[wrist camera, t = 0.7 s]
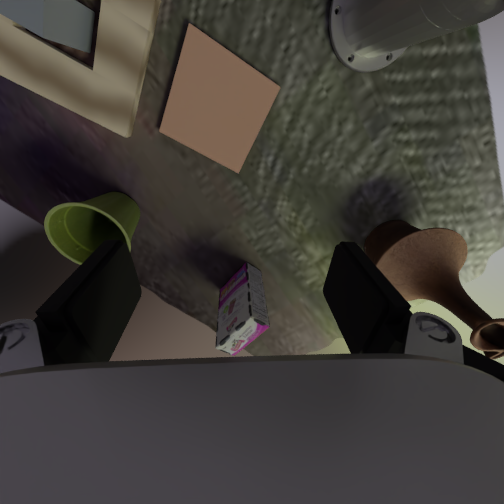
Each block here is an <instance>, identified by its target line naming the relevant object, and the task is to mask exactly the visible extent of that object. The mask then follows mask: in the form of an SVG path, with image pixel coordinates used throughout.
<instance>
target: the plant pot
mask: <svg viewBox="0 0 504 504" xmlns="http://www.w3.org/2000/svg"><path fill="white" fill-rule="evenodd" d="M139 218H140V210H139V207H138V205H137V204H136V202H135V201H134V200H132V199H131V198H129V197H128V196H127V195H125V194H123V193H119V192H109V193H106V194H103V195H100V196H98V197H95V198H92V199H89V200H87V201H84V202H77V203H76V202H70V203H63V204H60V205H57V206H55V207H54V208H52V209H51V210H50V211H49V212H48V213H47V215H46V218H45V221H44V227H45V231H46V235H47V236H48V239H49V240H50V242H51V243H52V245H53V246H54V247H55V248H56V249H57V250H58V251H59V252H60V253H61V254H62V255H64V256H65V257H67V258H68V259H70V260H71V261H73V262H75V263H77V264H80V265H81V264H82V263H83V262H84V261H85V260H86V259H87V258H88V257H89V256H90V255H91V254H92V253H93V252H94V251H95V250H96V249H97V248H98V247H99V246H100V245H101V244H102V243H103V242H104V241H105V240H122V241H123V243H126V244H127V245H128V247H129V251H130V250H131V244H130V243H131V238H132V235H133V233H134V231H135V228H136V226H137V223H138V221H139Z"/></svg>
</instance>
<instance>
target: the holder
mask: <svg viewBox="0 0 504 504" xmlns="http://www.w3.org/2000/svg"><path fill="white" fill-rule="evenodd" d="M160 3H161V0H101V7H100V16H99V24H98V32H97V41H96V49H95V57H94V66H93V68H92V67H90V66H88V65H86V64H85V63H83V62H81V61H79V60H78V59H76V58H74V57H72V56H71V55H69V54H67V53H65V52H63V51H62V50H60V49H58V48H56V47H55V46H53V45H51V44H49V43H48V42H46V41H44V40H42V39H40V38H39V37H37V36H35V35H33V34H32V33H30V32H28V31H26V30H25V27H23V26H21V25H19V24H18V23H16V22H14V21H12V20H11V19H9V18H7V17H5V16H3V15H2V14H0V75H1V76H3V77H5V78H7V79H9V80H11V81H13V82H15V83H17V84H19V85H21V86H23V87H25V88H27V89H29V90H31V91H33V92H35V93H37V94H39V95H41V96H43V97H45V98H47V99H49V100H51V101H53V102H55V103H57V104H59V105H61V106H63V107H65V108H67V109H69V110H71V111H73V112H75V113H77V114H79V115H81V116H83V117H85V118H88V119H90V120H92V121H94V122H96V123H98V124H100V125H102V126H104V127H106V128H108V129H110V130H112V131H114V132H116V133H118V134H120V135H122V136H124V137H126V138H127V137H130V136H131V135H132V131H133V126H134V121H135V117H136V112H137V108H138V103H139V99H140V94H141V90H142V85H143V80H144V76H145V71H146V67H147V62H148V58H149V53H150V49H151V44H152V39H153V35H154V30H155V26H156V21H157V17H158V12H159V7H160Z"/></svg>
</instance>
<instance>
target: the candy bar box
mask: <svg viewBox="0 0 504 504" xmlns="http://www.w3.org/2000/svg"><path fill="white" fill-rule="evenodd" d="M269 327H270V325H269V318H268V312H267V306H266V300H265V294H264V287H263V281H262V275H261V271H260V270H258V269H257V268H255V267H253V266H252V265H250V264H249V263H247V262H246V263H245V264H244V265H243V266H242V267H241V268H240V269H239V270H238V271H237V272H236V273H235V274H234V276H233V277H232V278H231V279H230V280H229V281H228V282H227V283H226V284H225V285H224V286H223V287H222V288H221V289H220V295H219V308H218V321H217V334H216V335H217V336H216V347H215V348H216V349H218V350H221V351H223V352H226V353H229V354H230V355H236V354H237V353H238V352H240V351H241V350H242V349H243V348H244V347H246V346H247V345H248V344H249V343H251V342H252V341H253V340H254V339H256V338H257V337H258V336H259V335H260V334H262V333H263V332H264V331H265V330H267V329H268V328H269Z"/></svg>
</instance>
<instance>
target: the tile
mask: <svg viewBox="0 0 504 504" xmlns="http://www.w3.org/2000/svg"><path fill="white" fill-rule="evenodd" d="M279 89H280V87H279V86H278V85H277V84H275V83H274V82H272V81H271V80H270V79H268V78H267V77H265V76H264V75H262V74H261V73H260V72H258V71H257V70H255V69H254V68H253V67H251V66H250V65H248V64H247V63H245V62H244V61H243V60H241V59H240V58H238V57H237V56H235V55H234V54H233V53H231V52H230V51H228V50H227V49H226V48H224V47H223V46H221V45H220V44H218V43H217V42H216V41H214V40H213V39H211V38H210V37H209V36H207V35H206V34H204V33H203V32H201V31H200V30H199V29H197V28H196V27H194V26H193V25H192V24H190V23H189V26H188V29H187V33H186V36H185V40H184V44H183V47H182V51H181V54H180V58H179V62H178V65H177V69H176V73H175V76H174V80H173V83H172V87H171V91H170V94H169V98H168V101H167V105H166V109H165V112H164V116H163V120H162V123H161V127H160V130H159V132H161V133H163V134H165V135H167V136H169V137H171V138H172V139H174V140H176V141H178V142H180V143H182V144H184V145H186V146H188V147H189V148H191V149H193V150H195V151H197V152H199V153H201V154H203V155H205V156H206V157H208V158H210V159H212V160H214V161H216V162H218V163H220V164H222V165H223V166H225V167H227V168H229V169H231V170H233V171H235V172H237V173H239V171H240V169H241V167H242V165H243V163H244V161H245V159H246V157H247V155H248V153H249V151H250V149H251V147H252V145H253V143H254V141H255V139H256V136H257V134H258V132H259V130H260V128H261V126H262V124H263V122H264V120H265V118H266V116H267V114H268V112H269V110H270V108H271V106H272V104H273V102H274V100H275V98H276V96H277V94H278V91H279Z"/></svg>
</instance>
